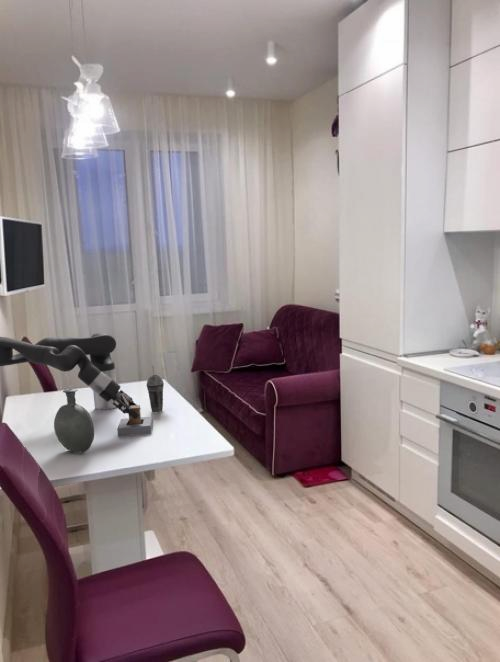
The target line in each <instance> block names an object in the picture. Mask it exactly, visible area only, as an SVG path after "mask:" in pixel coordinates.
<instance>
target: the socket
mask: <svg viewBox="0 0 500 662" xmlns="http://www.w3.org/2000/svg"><path fill="white" fill-rule="evenodd" d="M153 419H154V418H153V416H151V415H150V416H141V424H135V425H129V417H127V418H120V421H119V422H118V425H117V428H116V429H117V436H118V437H125V436H138V435H146V434H147V435H148V434H149V433H150V434H152V431H153V425H154V421H153ZM150 434H149V435H150Z"/></svg>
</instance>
